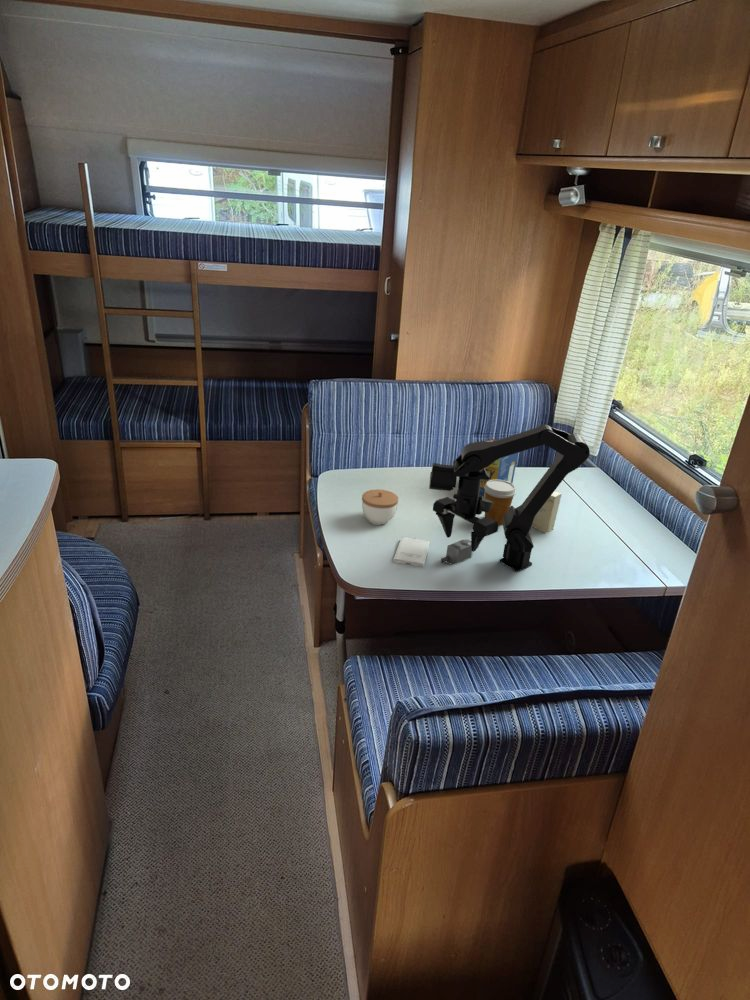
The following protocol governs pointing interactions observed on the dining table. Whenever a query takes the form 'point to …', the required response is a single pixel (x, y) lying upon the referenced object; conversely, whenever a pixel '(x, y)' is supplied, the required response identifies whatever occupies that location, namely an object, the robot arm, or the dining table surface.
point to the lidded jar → (379, 506)
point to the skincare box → (547, 513)
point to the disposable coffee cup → (499, 498)
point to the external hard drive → (411, 551)
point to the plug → (458, 552)
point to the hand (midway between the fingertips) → (460, 544)
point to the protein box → (500, 470)
